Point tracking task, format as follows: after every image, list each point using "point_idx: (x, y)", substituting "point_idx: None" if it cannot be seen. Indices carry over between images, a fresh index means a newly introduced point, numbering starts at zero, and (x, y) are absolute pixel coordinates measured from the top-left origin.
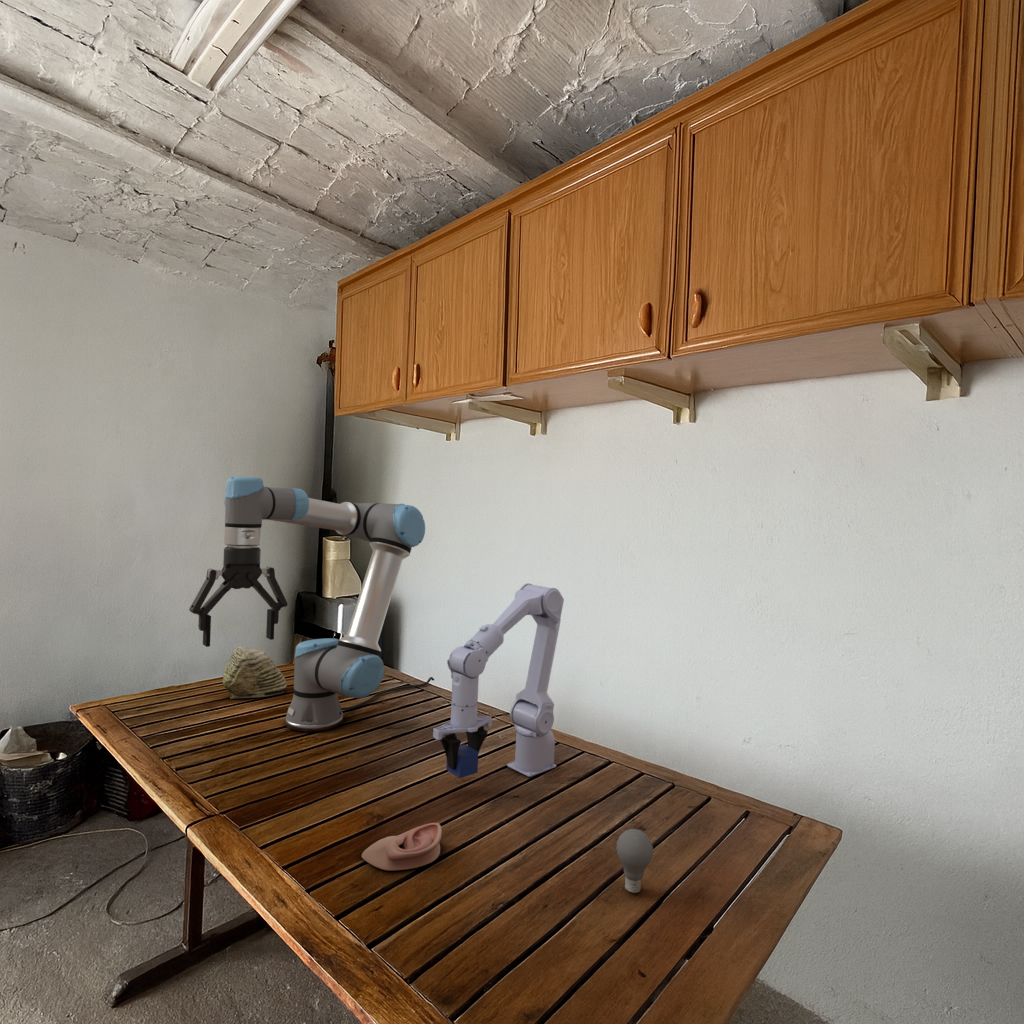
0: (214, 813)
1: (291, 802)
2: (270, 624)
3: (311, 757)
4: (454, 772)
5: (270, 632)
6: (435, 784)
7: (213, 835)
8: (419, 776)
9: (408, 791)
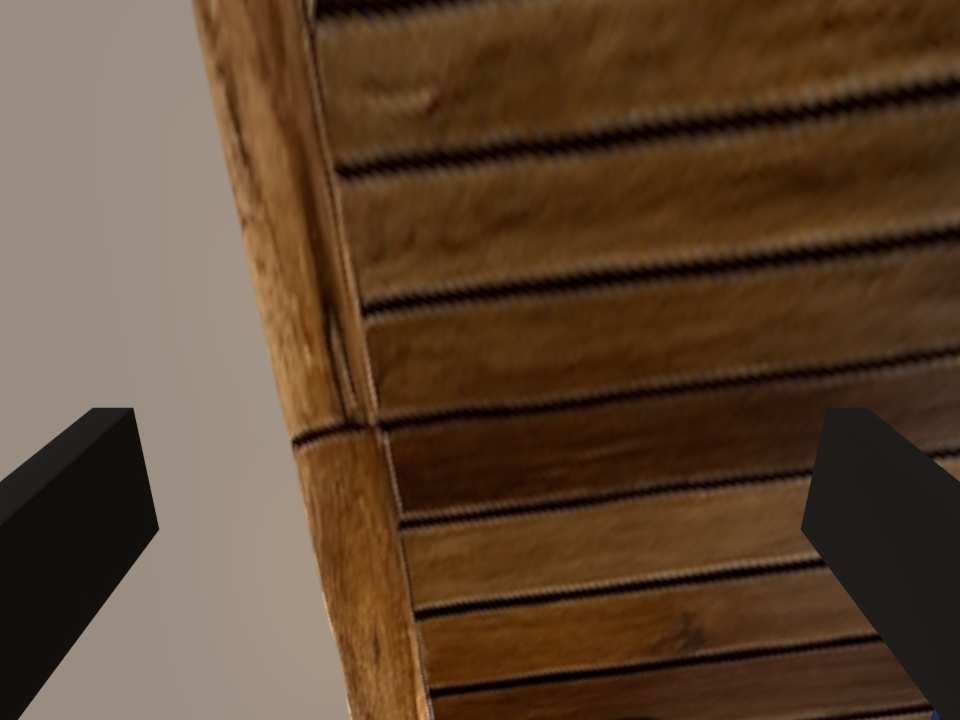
0: (364, 418)
1: (558, 471)
2: (906, 648)
3: (774, 203)
4: (938, 716)
5: (843, 577)
6: None
7: (337, 518)
8: None
9: None
